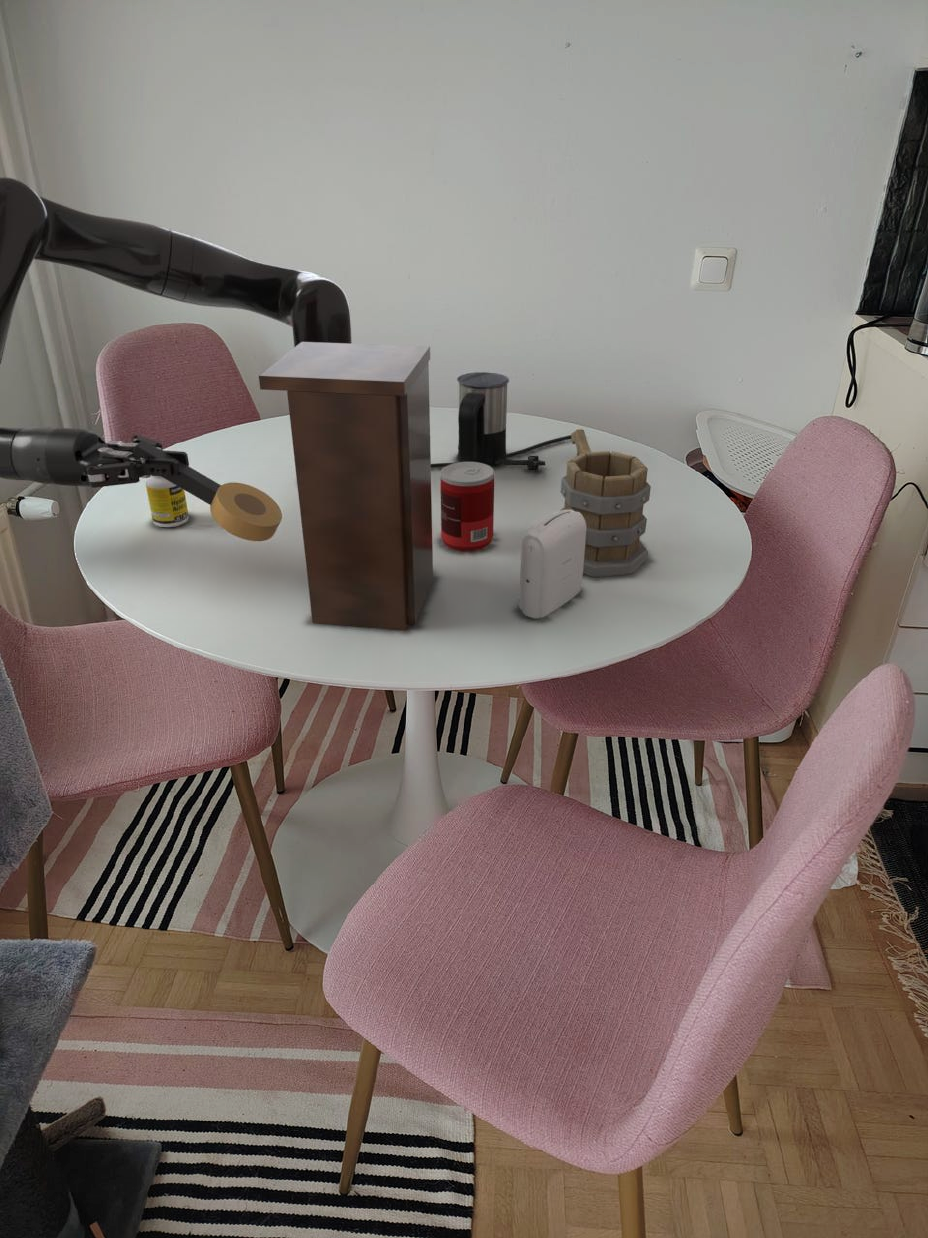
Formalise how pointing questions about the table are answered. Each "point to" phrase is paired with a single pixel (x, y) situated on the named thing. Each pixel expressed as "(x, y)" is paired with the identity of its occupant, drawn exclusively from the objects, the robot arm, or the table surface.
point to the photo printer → (552, 563)
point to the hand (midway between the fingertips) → (182, 464)
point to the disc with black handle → (225, 499)
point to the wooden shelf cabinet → (361, 477)
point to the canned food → (467, 505)
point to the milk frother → (485, 421)
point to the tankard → (608, 507)
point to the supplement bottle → (166, 502)
